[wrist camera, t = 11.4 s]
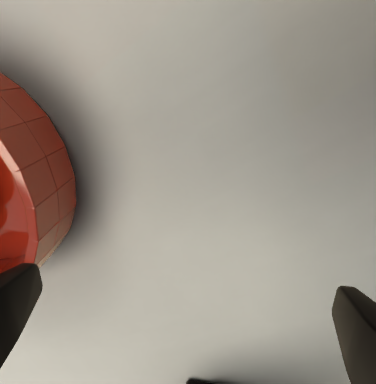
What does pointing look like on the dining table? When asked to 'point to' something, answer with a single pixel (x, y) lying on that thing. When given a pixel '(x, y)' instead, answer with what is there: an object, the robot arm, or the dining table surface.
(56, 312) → the dining table surface
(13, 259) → the bowl
